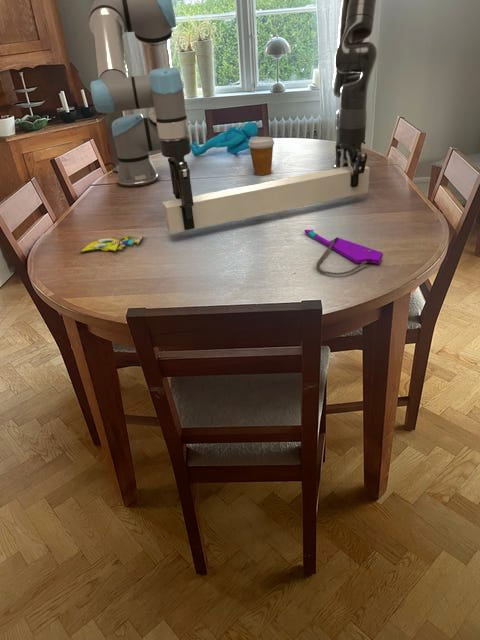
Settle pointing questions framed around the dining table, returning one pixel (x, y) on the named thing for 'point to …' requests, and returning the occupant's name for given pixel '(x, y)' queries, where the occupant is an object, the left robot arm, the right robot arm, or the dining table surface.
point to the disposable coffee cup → (261, 154)
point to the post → (266, 198)
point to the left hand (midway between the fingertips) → (186, 225)
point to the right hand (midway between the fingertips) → (349, 183)
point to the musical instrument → (347, 252)
